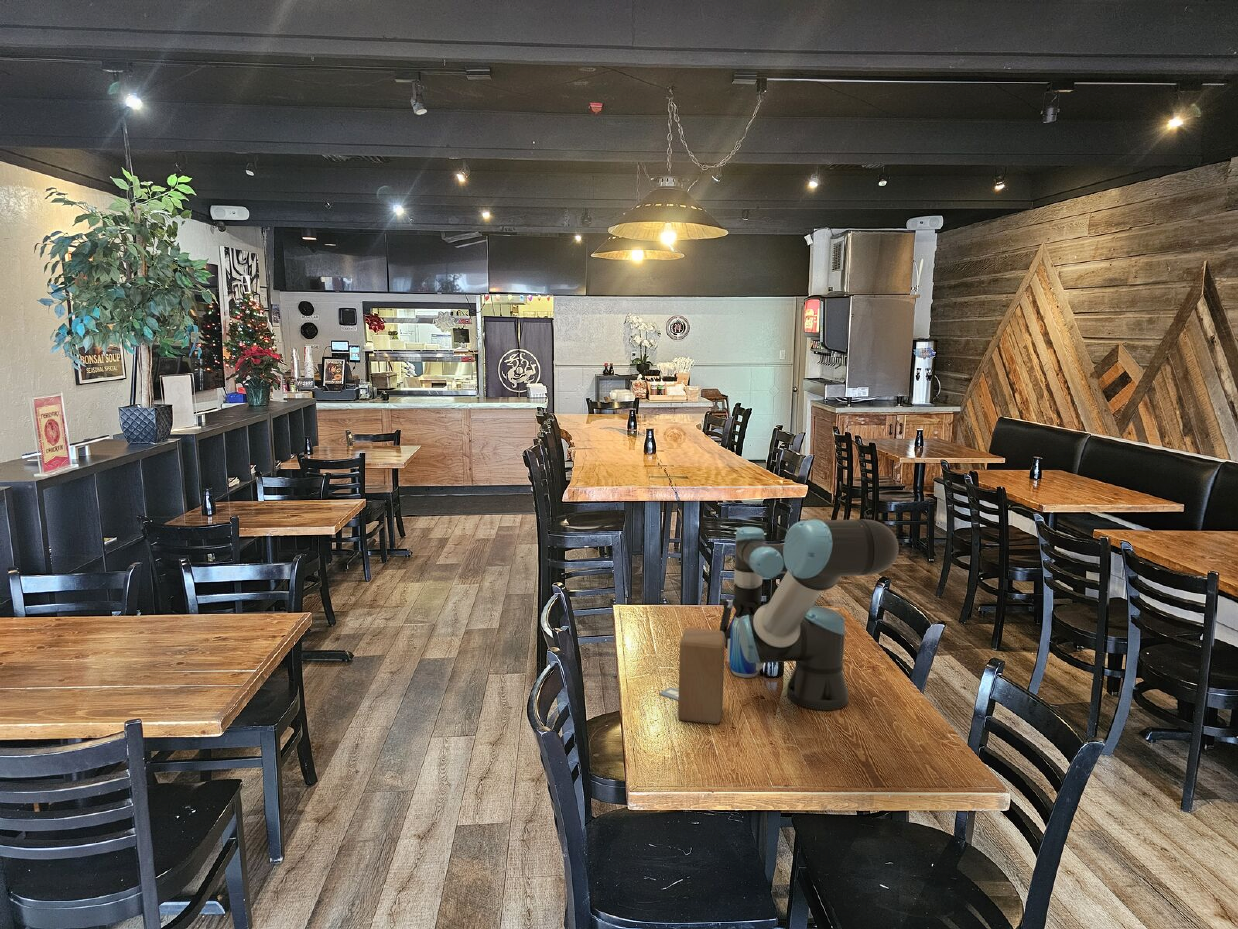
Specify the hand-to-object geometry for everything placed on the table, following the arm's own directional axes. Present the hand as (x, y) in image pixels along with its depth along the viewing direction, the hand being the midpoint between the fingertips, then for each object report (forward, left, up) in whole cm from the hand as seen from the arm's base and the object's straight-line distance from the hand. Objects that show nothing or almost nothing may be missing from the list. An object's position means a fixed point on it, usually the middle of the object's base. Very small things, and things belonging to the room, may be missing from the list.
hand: (744, 664), depth 212 cm
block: (-4, +29, -3) cm, 29 cm away
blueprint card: (+6, +24, -2) cm, 25 cm away
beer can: (0, 0, -2) cm, 2 cm away
